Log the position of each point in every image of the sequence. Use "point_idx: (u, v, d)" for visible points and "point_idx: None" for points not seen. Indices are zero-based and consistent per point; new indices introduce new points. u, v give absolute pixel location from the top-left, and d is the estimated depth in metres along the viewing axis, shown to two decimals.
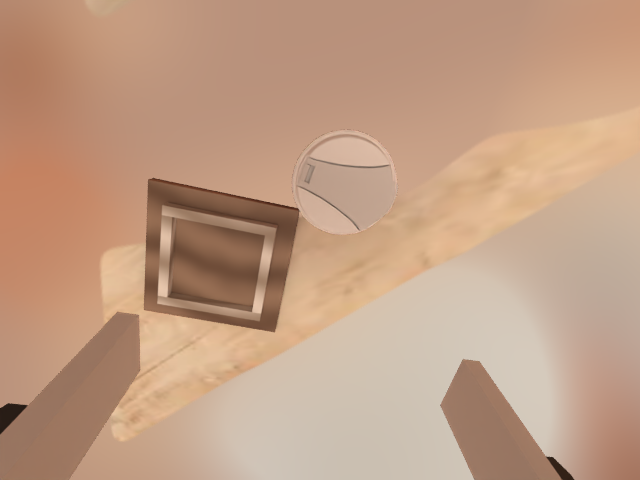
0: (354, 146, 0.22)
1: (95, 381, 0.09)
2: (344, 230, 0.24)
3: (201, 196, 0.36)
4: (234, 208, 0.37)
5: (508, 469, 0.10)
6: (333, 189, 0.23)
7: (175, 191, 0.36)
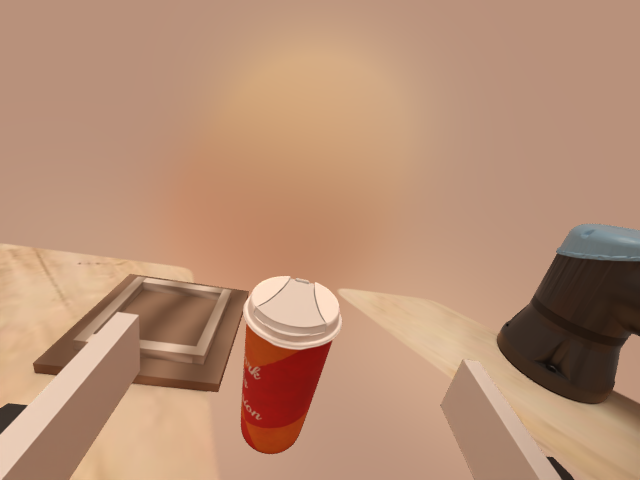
0: (331, 302, 0.25)
1: (95, 381, 0.09)
2: (255, 297, 0.24)
3: (236, 314, 0.43)
4: (224, 332, 0.39)
5: (508, 469, 0.10)
6: (293, 292, 0.26)
7: (240, 302, 0.46)
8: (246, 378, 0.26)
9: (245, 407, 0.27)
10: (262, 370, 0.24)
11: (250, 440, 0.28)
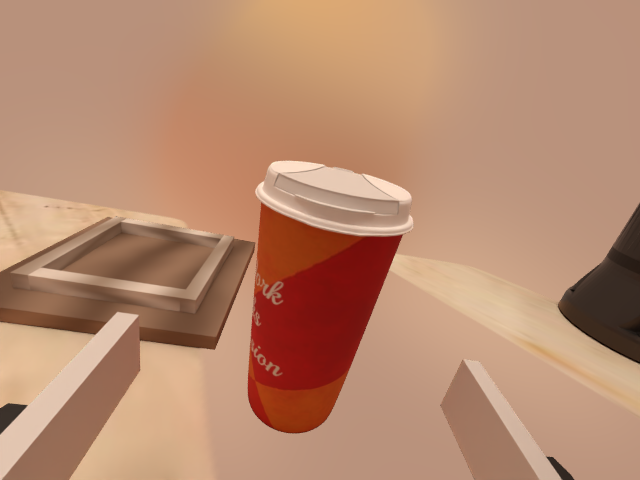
0: (396, 188, 0.16)
1: (95, 381, 0.09)
2: (276, 167, 0.14)
3: (239, 263, 0.33)
4: (224, 281, 0.30)
5: (508, 469, 0.10)
6: (334, 173, 0.16)
7: (244, 251, 0.36)
8: (258, 309, 0.16)
9: (256, 359, 0.17)
10: (287, 286, 0.14)
11: (262, 412, 0.18)
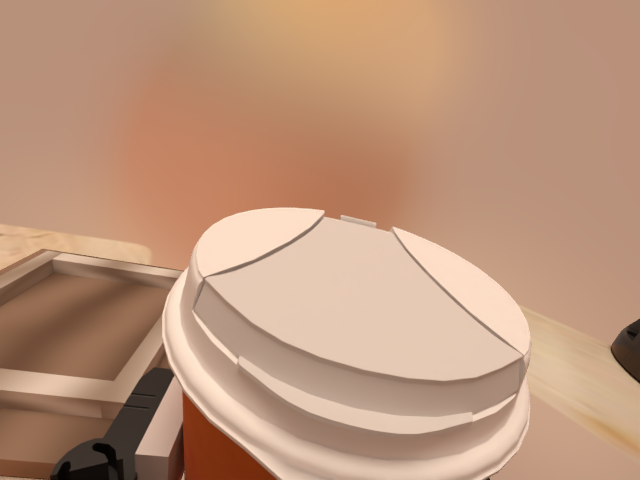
0: (473, 276, 0.08)
1: None
2: (211, 246, 0.06)
3: None
4: None
5: None
6: (344, 242, 0.08)
7: None
8: None
9: None
10: None
11: None
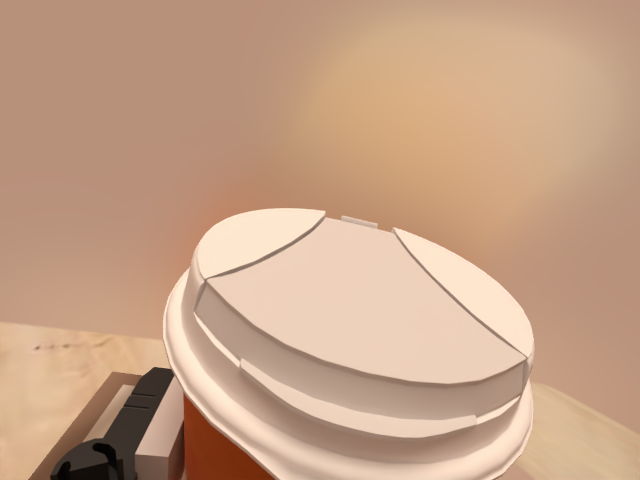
0: (475, 277, 0.08)
1: None
2: (213, 247, 0.06)
3: None
4: None
5: None
6: (345, 243, 0.08)
7: None
8: None
9: None
10: None
11: None
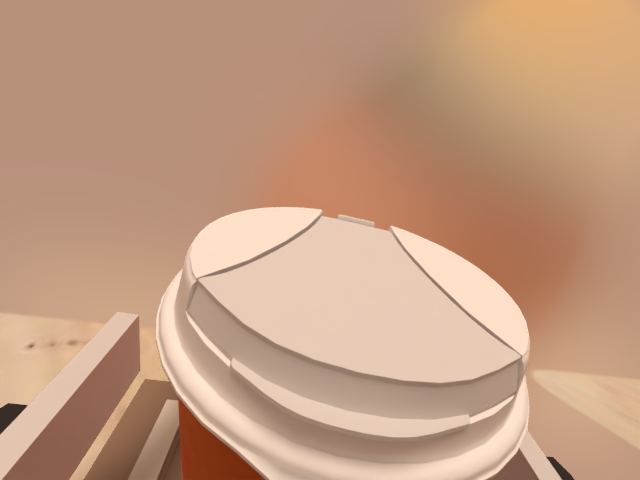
0: (471, 276, 0.08)
1: (95, 381, 0.09)
2: (206, 246, 0.06)
3: None
4: None
5: (508, 469, 0.10)
6: (341, 241, 0.08)
7: None
8: None
9: None
10: None
11: None
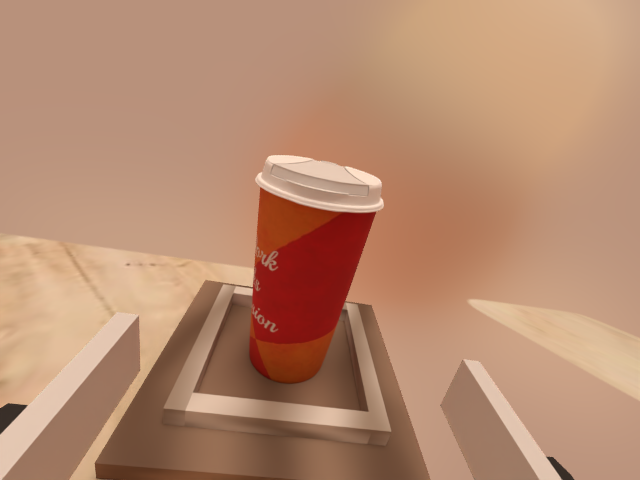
0: (370, 177, 0.19)
1: (95, 381, 0.09)
2: (272, 159, 0.18)
3: (377, 343, 0.28)
4: (381, 377, 0.24)
5: (508, 469, 0.10)
6: (320, 165, 0.20)
7: (370, 322, 0.31)
8: (258, 277, 0.20)
9: (256, 320, 0.21)
10: (280, 254, 0.18)
11: (262, 365, 0.22)
